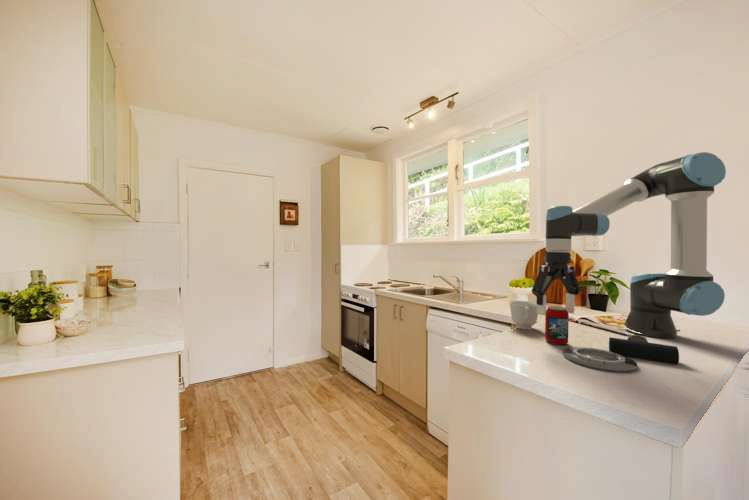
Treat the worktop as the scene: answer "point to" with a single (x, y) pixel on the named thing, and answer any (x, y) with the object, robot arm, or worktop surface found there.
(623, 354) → the pipe connector
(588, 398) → the worktop surface
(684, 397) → the worktop surface
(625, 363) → the ring plate
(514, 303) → the teacup
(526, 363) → the worktop surface
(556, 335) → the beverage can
